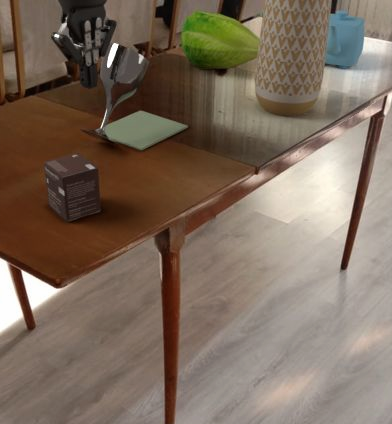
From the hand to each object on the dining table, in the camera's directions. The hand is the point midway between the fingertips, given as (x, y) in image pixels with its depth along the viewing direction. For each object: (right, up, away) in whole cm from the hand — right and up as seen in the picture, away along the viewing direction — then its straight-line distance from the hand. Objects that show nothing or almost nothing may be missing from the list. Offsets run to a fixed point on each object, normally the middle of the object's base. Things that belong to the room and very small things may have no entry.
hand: (89, 86), depth 105 cm
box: (-1, -22, -8) cm, 24 cm away
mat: (+7, -2, +15) cm, 17 cm away
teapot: (+52, +27, +51) cm, 77 cm away
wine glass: (0, -6, +7) cm, 9 cm away
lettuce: (+24, +22, +44) cm, 55 cm away
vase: (+36, +7, +27) cm, 46 cm away
